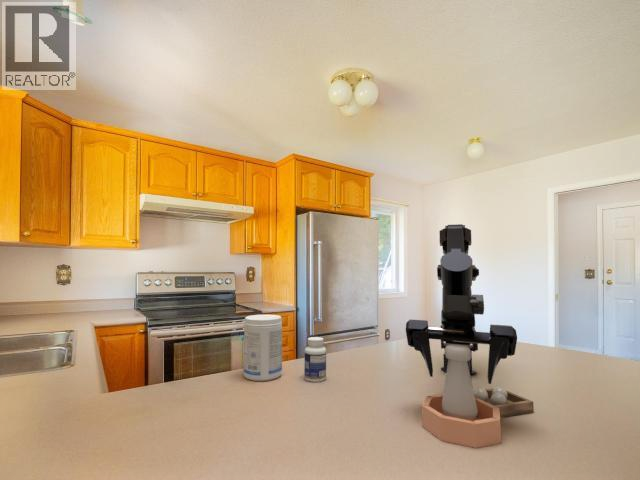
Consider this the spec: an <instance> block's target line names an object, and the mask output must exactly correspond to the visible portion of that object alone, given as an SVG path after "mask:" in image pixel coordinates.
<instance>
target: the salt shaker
mask: <svg viewBox="0 0 640 480" xmlns="http://www.w3.org/2000/svg"><path fill="white" fill-rule="evenodd" d="M444 354H445V356H446V358H447V359H448V366H447V372H446V371H445V372H446V374H445V379H444V388H443V393H442V394H443V399H442V410H443V412H444V414H445V416H449V417H454V418H459V419H465V420H470V421H474V420H475V418H476V416H477V414H478V410H477V405H476V401H475V396H474V388H473V382H472V378H471V375H470V372H469V367H468V363H467V361H469V360H471V351H470V349H469V348H468V347H467V346H464V345H459V344H450V345H447V346H446V347H445V350H444Z"/></svg>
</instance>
